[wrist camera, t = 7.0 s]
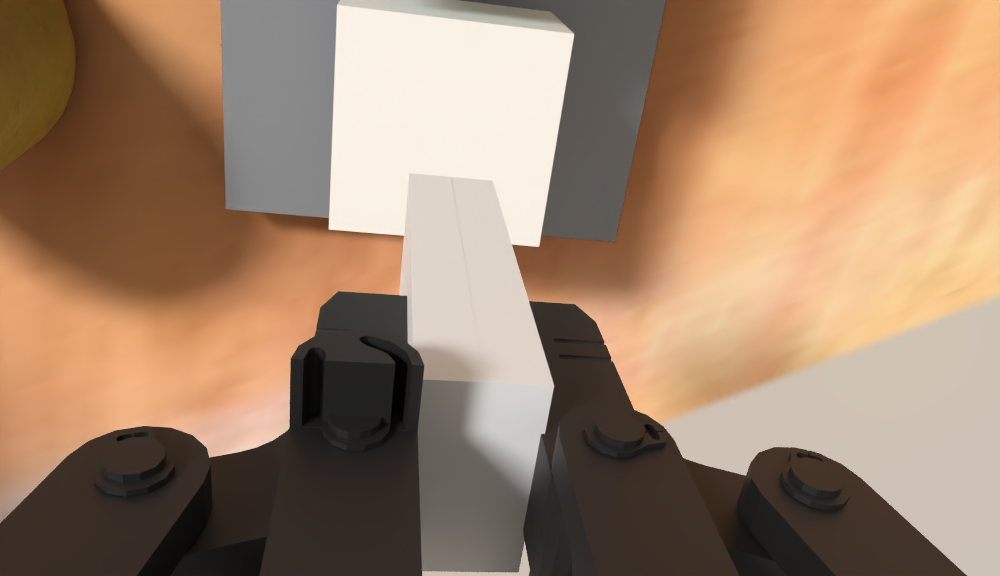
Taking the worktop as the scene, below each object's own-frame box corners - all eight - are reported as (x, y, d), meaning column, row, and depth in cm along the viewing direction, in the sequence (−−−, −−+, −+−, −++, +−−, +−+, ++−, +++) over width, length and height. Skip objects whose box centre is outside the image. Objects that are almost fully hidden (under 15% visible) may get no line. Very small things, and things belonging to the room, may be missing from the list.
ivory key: (340, 181, 26) (328, 229, 22) (349, -14, 23) (337, 5, 20) (522, 198, 27) (538, 246, 23) (550, 11, 24) (574, 33, 20)
